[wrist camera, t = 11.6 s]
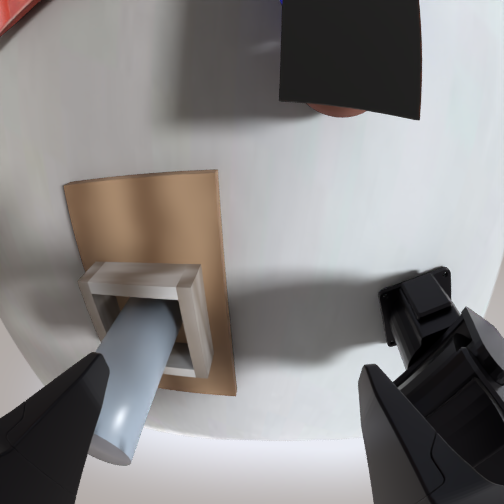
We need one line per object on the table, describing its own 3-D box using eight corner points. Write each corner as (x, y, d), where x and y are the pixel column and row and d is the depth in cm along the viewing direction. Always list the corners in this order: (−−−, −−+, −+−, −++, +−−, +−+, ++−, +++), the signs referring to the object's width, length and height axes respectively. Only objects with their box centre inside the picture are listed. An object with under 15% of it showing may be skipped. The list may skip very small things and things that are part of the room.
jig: (217, 169, 19) (203, 185, 16) (236, 388, 30) (232, 420, 26) (70, 182, 20) (39, 198, 17) (132, 376, 31) (120, 403, 27)
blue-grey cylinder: (194, 325, 24) (147, 469, 13) (149, 336, 26) (94, 460, 14) (164, 279, 23) (88, 424, 11) (119, 294, 24) (41, 418, 12)
